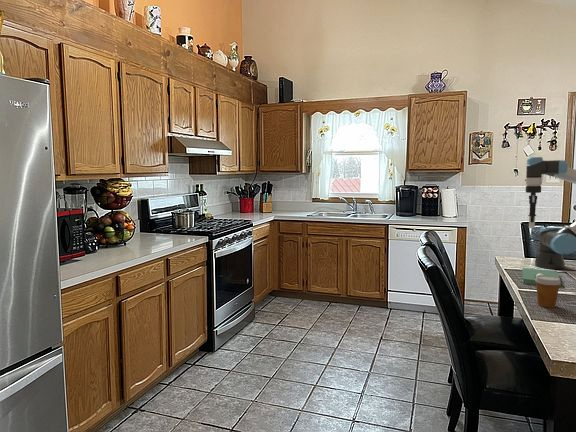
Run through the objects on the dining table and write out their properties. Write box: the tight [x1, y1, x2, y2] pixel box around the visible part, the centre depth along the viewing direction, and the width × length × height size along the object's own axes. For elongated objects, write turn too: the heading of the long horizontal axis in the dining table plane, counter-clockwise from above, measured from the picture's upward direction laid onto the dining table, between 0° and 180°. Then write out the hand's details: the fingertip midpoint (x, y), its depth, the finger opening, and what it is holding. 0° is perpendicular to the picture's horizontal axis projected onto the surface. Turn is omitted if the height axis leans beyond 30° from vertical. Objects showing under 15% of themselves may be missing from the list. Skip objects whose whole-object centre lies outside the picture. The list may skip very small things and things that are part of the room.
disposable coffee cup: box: [535, 275, 562, 308], centre depth 184 cm, size 10×10×12 cm
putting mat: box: [521, 267, 562, 288], centre depth 226 cm, size 26×16×2 cm, turn 153°
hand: (531, 227), depth 242 cm, fingers closed
